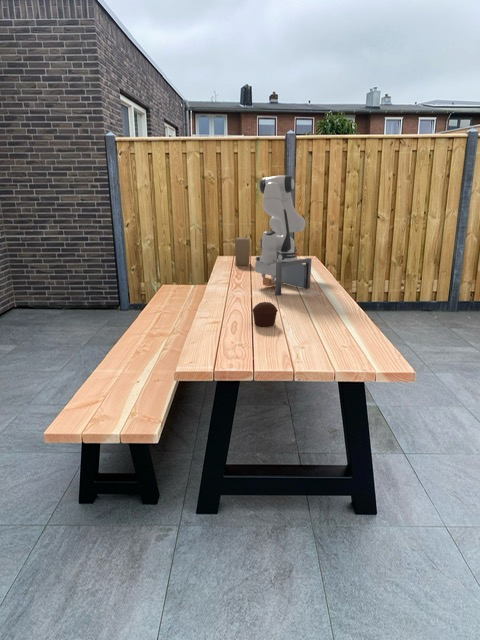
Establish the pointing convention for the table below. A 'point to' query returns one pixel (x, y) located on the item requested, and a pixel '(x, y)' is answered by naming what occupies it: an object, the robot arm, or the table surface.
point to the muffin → (264, 314)
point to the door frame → (288, 263)
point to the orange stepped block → (267, 282)
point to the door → (294, 275)
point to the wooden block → (242, 251)
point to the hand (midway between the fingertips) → (268, 281)
